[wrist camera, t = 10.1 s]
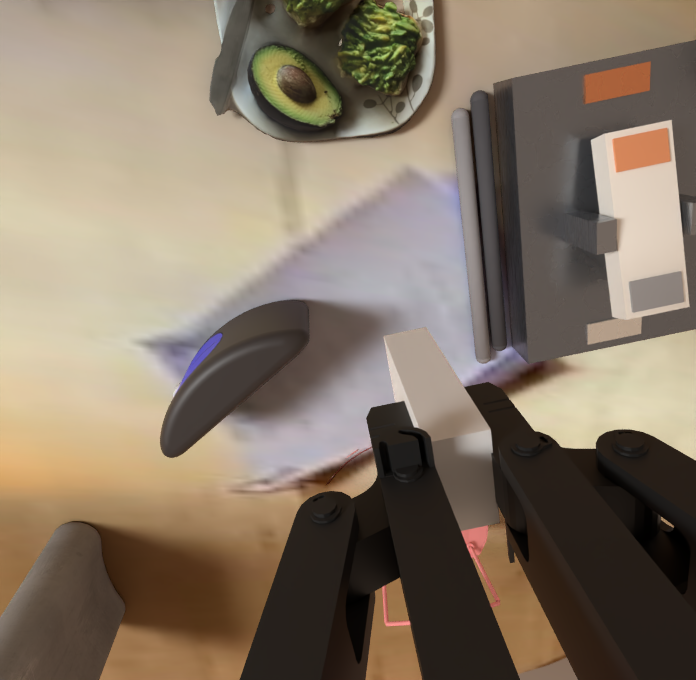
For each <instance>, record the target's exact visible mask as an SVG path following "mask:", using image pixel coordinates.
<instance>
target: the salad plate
mask: <svg viewBox="0 0 696 680" xmlns="http://www.w3.org/2000/svg"><path fill="white" fill-rule="evenodd" d="M268 4H273V5H275V11H274V12H273V13H272V14H268V13H266V10H265V8H266V6H267V5H268ZM403 4H404V11H405V15H404V14H402V13H399V12H396V11H397V7H396V5H395V4H394V3H393V2H387V3H386V4H385V7H383V6H380V5H378V4H377V3H376V1H374V0H214V5H215V11H216V17H217V24H218V29H219V34H220V39H221V43H222V44H221V46H222V49H221V53H220V55H219V57H217V58H216V61H215V65H214V69H213V74H212V80H211V86H210V102H211V103H212V106H213V107H214V109H215V111H216V114H217V115H221V114H224V113H225V112H226V111H227V110H233V111H235V112H237V113H239V114H240V115H241V116H243V117H244V118H245V119H246V120H247V121H248V122H249V123H251V124H252V125H253V126H254V127H255V128H256V129H258V130H260V131H261V132H263V133H264V134H268V135H270V136H271V137H273V138H275V139H278V140H282V141H290V142H311V141H324V140H331V139H340V138H351V137H358V138H361V137H374V136H378V135H384V134H390V133H393V132H395V131H397V130H398V129H400V128H401V127H402V126H404V125H405V124H406V123H407V122H408V121H409V120H410V118H411V117H412V116H413V115H414V114H415V113H416V111H417V110H418V108H419V107H420V105H421V104H422V102H423V101H424V99H425V97H426V96H427V94H428V92H429V89H430V87H431V85H432V82H433V76H434V70H435V61H436V46H435V44H436V40H435V26H434V0H403ZM341 38H342V45H341V46H339V41H340V40H341Z"/></svg>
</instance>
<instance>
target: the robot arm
mask: <svg viewBox="0 0 696 680" xmlns="http://www.w3.org/2000/svg"><path fill="white" fill-rule="evenodd" d="M384 342H385V347H386V353H387V359H388V364H389V370H390V375H391V381H392V387H393V392H394V398H395V403H392V404H387V405H382V406H377V407H372V408H371V409H370V411H369V414H368V416H367V418H366V419H367V424H368V429H369V434H370V438H371V443H372V448H373V453H374V458H375V463H376V467H377V472H378V475H377V478H376V481H375V482H374V484H373V485H372V486H371V487H370V488H369V489H368V490H367V491H365V492H364V493H362V494H360V495H358V496H356V497H354V498H352V499H351V497H350V496H348V495H346V494H344V493H342V492H335V491H329V492H323V493H319V494H317V495H315V496H313V497H310V498H309V499H308V500H307V501H305V502H304V503H303V504H302V505H301V507H300V508H299V510H298V512H297V514H296V517H295V520H294V523H293V525H292V528H291V531H290V534H289V537H288V540H287V543H286V546H285V549H284V552H283V555H282V558H281V561H280V564H279V566H278V569H277V572H276V575H275V578H274V581H273V584H272V587H271V590H270V593H269V596H268V599H267V602H266V604H265V607H264V610H263V613H262V616H261V619H260V622H259V625H258V628H257V631H256V634H255V637H254V640H253V642H252V645H251V648H250V651H249V654H248V657H247V660H246V663H245V666H244V669H243V672H242V675H241V678H240V680H365V678H366V670H367V662H368V654H369V645H370V637H371V629H372V621H373V613H374V604H375V591H376V590H377V589H379V588H381V587H383V586H385V585H387V584H388V583H390V582H392V581H394V580H396V579H398V578H399V577H400V579H401V584H402V589H403V593H404V598H405V602H406V607H407V612H408V616H409V621H410V625H411V630H412V634H413V639H414V644H415V648H416V653H417V657H418V662H419V667H420V671H421V676H422V680H520V678H519V676H518V673H517V671H516V668H515V666H514V663H513V661H512V658H511V656H510V653H509V651H508V648H507V646H506V643H505V641H504V638H503V636H502V633H501V631H500V628H499V626H498V623H497V620H496V618H495V615H494V613H493V610H492V608H491V605H490V603H489V600H488V598H487V595H486V593H485V590H484V588H483V585H482V583H481V580H480V578H479V575H478V573H477V570H476V568H475V565H474V563H473V560H472V558H471V555H470V553H469V550H468V548H467V545H466V543H465V540H464V538H463V535H462V533H461V531H463V530H468V529H473V528H478V527H483V526H487V525H492V524H497V523H500V520H499V510H498V507H499V508H500V510H501V512H502V514H503V516H504V518H505V524H506V535H507V546H508V556H509V560H510V563H513V562H515V560H514V552H515V554H516V556H517V558H518V560H519V562H520V564H521V566H522V568H523V570H524V572H525V574H526V576H527V578H528V580H529V582H530V584H531V586H532V588H533V590H534V592H535V594H536V596H537V598H538V600H539V602H540V604H541V606H542V608H543V610H544V612H545V614H546V616H547V618H548V620H549V622H550V624H551V626H552V628H553V630H554V632H555V634H556V636H557V638H558V640H559V642H560V644H561V646H562V648H563V650H564V652H565V654H566V656H567V658H568V660H569V662H570V665H571V666H572V668H573V671H574V672H575V675H576V676H577V678H578V680H696V461H695V460H694V459H692V458H690V457H688V456H687V455H685V454H683V453H681V452H680V451H678V450H676V449H674V448H673V447H671V446H669V445H667V444H666V443H664V442H662V441H660V440H659V439H657V438H655V437H653V436H651V435H648V434H646V433H644V432H640V431H635V430H614V431H609V432H606V433H604V434H603V435H601V436H600V437H599V438H598V440H597V442H596V449H571V448H563V447H560V446H559V444H558V443H557V442H556V441H555V440H554V439H553V438H551V437H550V436H549V435H546V434H543V433H541V432H535V431H534V430H533V429H532V428H531V426H530V425H529V424H528V422H527V421H526V420H525V418H524V417H523V416H522V415H521V413H520V412H519V411H518V409H517V408H515V406H514V404H513V403H512V402H511V400H509V398H508V397H507V395H506V394H505V393H504V391H503V390H502V389H501V388H499V387H497V386H495V385H493V384H491V383H489V382H486V383H482V384H477V385H472V386H467V387H464V386H463V385H462V383H461V382H460V380H459V378H458V377H457V375H456V374H455V372H454V370H453V369H452V367H451V366H450V364H449V363H448V361H447V359H446V358H445V356H444V355H443V353H442V351H441V350H440V348H439V347H438V345H437V344H436V342H435V340H434V339H433V337H432V336H431V334H430V332H429V331H428V329H427V328H426V327H424V328H419V329H415V330H410V331H405V332H400V333H395V334H391V335H386V336H384ZM661 517H663V518H664V519H665V520H667V521H668V522H670V523H671V524H672V525H674V528H672V527H671V526H669V525H667V524H666V523H664V522H663V521H662V520H661Z"/></svg>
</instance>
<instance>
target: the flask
mask: <svg viewBox="0 0 696 680" xmlns="http://www.w3.org/2000/svg"><path fill="white" fill-rule="evenodd" d="M124 613H125V603H124V602H123V600H122V599H121V597H120V596H119V594H118V593H117V591H116V590H115V589H114V587H113V585H112V583H111V581H110V579H109V576H108V574H107V571H106V568H105V565H104V561H103V556H102V546H101V537H100V535H99V534H98V532H97V530H96V529H94V528H93V527H91V526H90V525H87V524H84V523H81V522H69V523H66V524H63V525H61V526H60V527H59V528H57V529H56V530H55V532H54V533H53V535H52V537H51V538H50V540H49V541H48V543H47V545H46V546H45V548H44V549H43V551H42V552H41V554H40V556H39V557H38V559H37V560H36V562H35V563H34V565H33V567H32V568H31V570H30V571H29V573H28V575H27V576H26V578H25V579H24V581H23V582H22V584H21V586H20V587H19V589H18V590H17V592H16V593H15V595H14V597H13V598H12V600H11V601H10V603H9V605H8V606H7V608H6V609H5V611H4V612H3V614H2V616H1V617H0V680H99V679H100V676H101V673H102V671H103V668H104V665H105V663H106V660H107V658H108V655H109V652H110V650H111V647H112V644H113V642H114V639H115V636H116V634H117V631H118V629H119V626H120V623H121V621H122V618H123V615H124Z"/></svg>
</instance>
